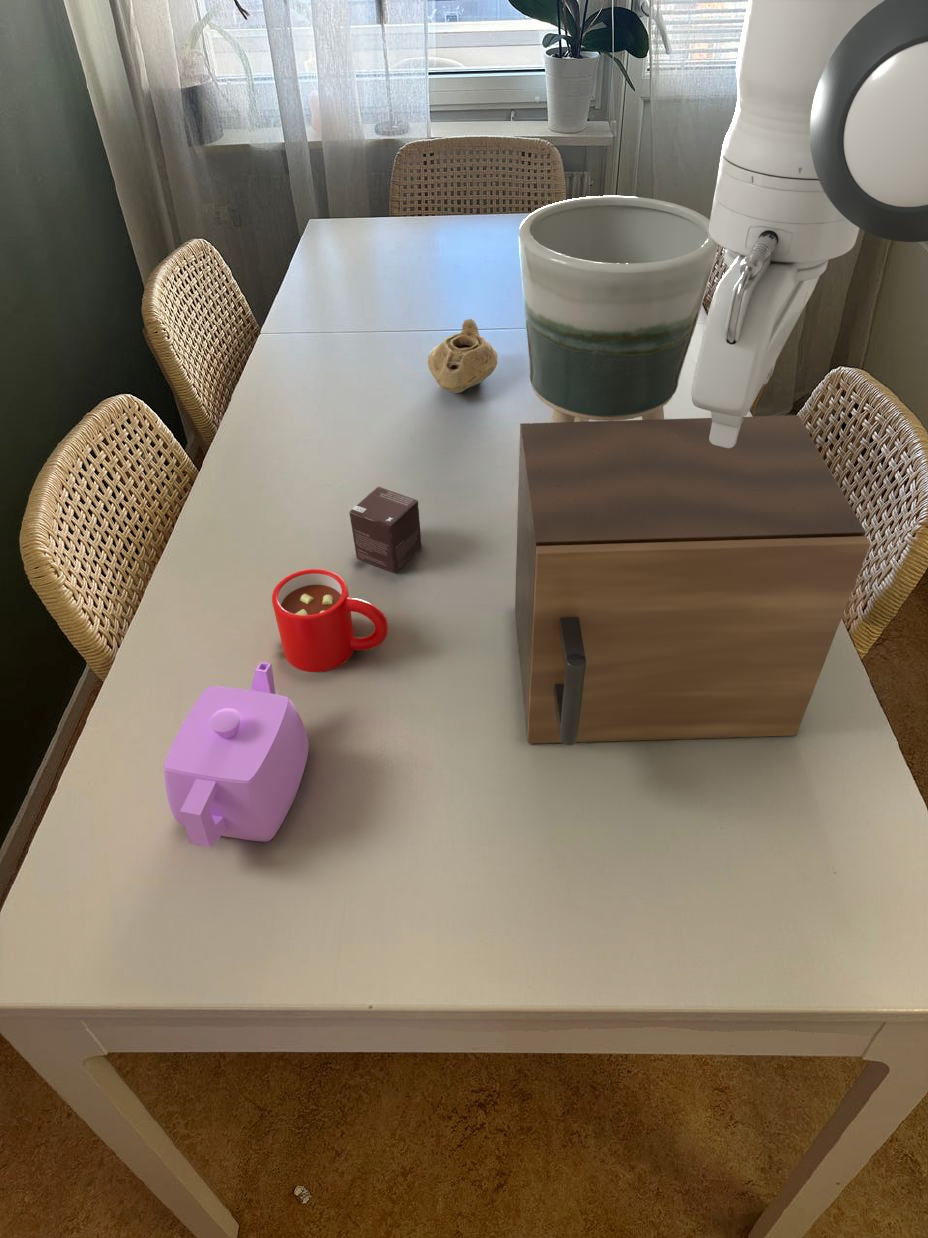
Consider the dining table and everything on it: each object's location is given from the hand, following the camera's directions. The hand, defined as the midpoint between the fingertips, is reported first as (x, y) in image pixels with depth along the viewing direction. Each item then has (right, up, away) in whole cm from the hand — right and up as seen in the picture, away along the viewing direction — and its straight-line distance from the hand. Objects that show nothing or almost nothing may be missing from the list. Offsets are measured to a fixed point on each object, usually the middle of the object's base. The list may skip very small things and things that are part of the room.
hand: (741, 409), depth 62 cm
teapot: (-40, -31, +20) cm, 55 cm away
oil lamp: (-20, +22, +75) cm, 81 cm away
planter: (-3, +3, +55) cm, 55 cm away
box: (-29, -7, +45) cm, 54 cm away
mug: (-34, -18, +33) cm, 51 cm away
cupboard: (-1, -20, +30) cm, 36 cm away
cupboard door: (0, -29, +21) cm, 35 cm away
